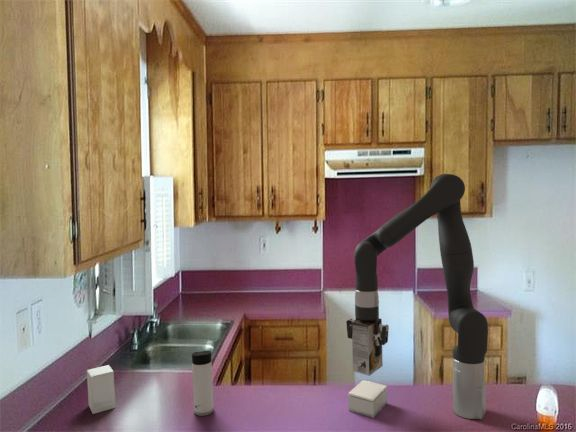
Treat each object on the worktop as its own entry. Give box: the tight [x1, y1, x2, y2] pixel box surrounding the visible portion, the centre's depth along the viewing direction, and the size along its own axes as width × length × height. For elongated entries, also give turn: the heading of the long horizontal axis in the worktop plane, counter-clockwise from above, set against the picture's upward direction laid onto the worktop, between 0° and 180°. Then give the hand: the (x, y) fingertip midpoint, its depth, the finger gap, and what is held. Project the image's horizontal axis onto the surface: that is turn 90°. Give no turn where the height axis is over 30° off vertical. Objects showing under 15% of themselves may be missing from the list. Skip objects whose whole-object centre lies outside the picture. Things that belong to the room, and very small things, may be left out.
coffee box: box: [351, 318, 383, 376], centre depth 142 cm, size 9×6×16 cm
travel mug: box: [191, 350, 214, 417], centre depth 143 cm, size 6×7×20 cm
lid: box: [348, 379, 388, 401], centre depth 143 cm, size 8×11×1 cm
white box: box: [347, 388, 388, 419], centre depth 144 cm, size 8×11×5 cm
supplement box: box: [86, 364, 116, 415], centre depth 149 cm, size 7×7×13 cm
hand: (367, 353), depth 143 cm, fingers closed on coffee box, 6 cm apart
